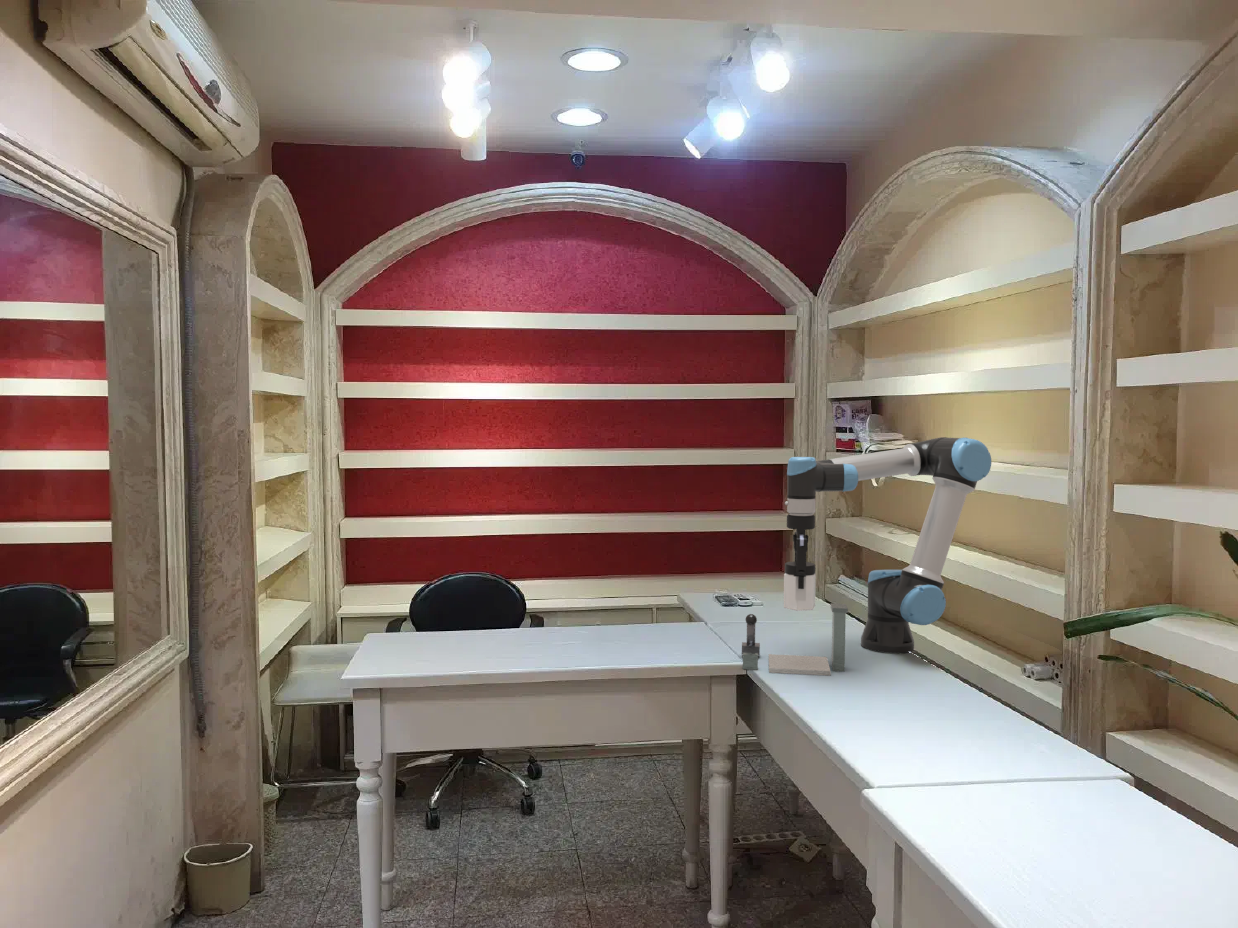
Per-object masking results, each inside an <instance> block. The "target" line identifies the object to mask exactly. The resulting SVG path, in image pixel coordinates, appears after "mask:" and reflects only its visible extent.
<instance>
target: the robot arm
mask: <svg viewBox="0 0 1238 928" xmlns="http://www.w3.org/2000/svg"><path fill="white" fill-rule="evenodd" d="M787 462H788V463H787V472H786V479H787V482H786V483H787V486H786V487H787V488H786V489H787V490H786V491H787V494H786V500H787V501H785V502H784V505H785V506H786V507H787V508H786V511H787V513H789V514H787V515H786V527H787V529H790V530H795V531H794V534H792V541H793V551H794V562H795V561H796V574H794V576H796V589H795V601H806V574H807V572H806V562H807V552H808V543H809V535H808V534H806V530H814V529H815V528H816V515H815V513H816V495H817V494H816V493H819V492H842V493H845V492H852V491H854V490H855V489H856V487H858V484H859V482H860V481H866V480H873V479H880V478H886V477H893V476H899V475H906V474H907V475H909V476H911V477H916V476H931V477H932V480H933V482H934V484H935V487H934V491H933V494H932V497H931V500H930V502H929V505H928V508H927V512H926V515H925V517H924V521H923V524H922V527H921V530H920V533H919V536H918V540H917V542H916V545H915V548H914V552H913V555H912V558H911V560H910V564H909V565H908V566H906V567H904V568H902V569H875V570H871V571H870V572H869V573H868V578H867V579H868V580H867V618H866V619H867V620H866V624H865V626H864V628H863V631H862V634H861V637H860V646H861V647H863V648H864V649H866V650H869V651H874V652H878V653H879V652H880V653H885V654H889V653H890V654H900V653H901V654H902V653H909V652H912V651H914V650H915V640H914V636H913V633H912V630H911V627H910V624H913V625H918V626H928V625H930V624H933V623H935V622H937V621H938V620H939V619H940V618H941V617H942V615H943V614H944V612H945V610H946V606H947V605H946V604H947V602H946V600H947V599H946V598H945V593H944V592H943V587H944V584H945V582H944V580H943V578H942V573H943V569H944V566H945V563H946V560H947V557H948V553H949V550H950V548H951V544H952V541H953V538H954V535H955V532H956V529H957V526H958V522H959V519H960V517H961V515H962V511H963V507H964V505H965V502H966V498H967V495H968V494H970V493H972V492H974V491H975V490H976V486H977V483H978V481H981V480H983V478H986V477H987V476H988V475H989V473H990V470H991V467H992V455H991V453H990V452H989V448H988V447H987V446H986V445H985V444H984V443H983V442H981V441H980V440H979V439H974V438H970V437H969V438H968V437H946V436H945V437H935V438H931V439H927V440H923V441H917V442H912V443H907V444H905V445H904V446H903V447H902V448H896V449H890V450H883V451H876V452H868V453H864V454H856V455H849V456H841V457H836V458H828V459H821V460H817V459H816V457H814V456H813V457H812V456H792V457H790V458H789V459H788V460H787ZM799 570H800V571H799ZM909 623H910V624H909Z"/></svg>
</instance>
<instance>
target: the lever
mask: <svg viewBox="0 0 1238 928" xmlns="http://www.w3.org/2000/svg"><path fill="white" fill-rule="evenodd" d="M757 622H758V619H757V616H756V615H755V614H752V613H749V614H747V616H745V623H746V642H744V641H742V642H741V655H743V653H758V656H760V654H761V653H760V651H761V647H760V646H761V644H760V642H756V623H757Z"/></svg>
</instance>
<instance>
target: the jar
mask: <svg viewBox="0 0 1238 928" xmlns="http://www.w3.org/2000/svg"><path fill="white" fill-rule="evenodd" d="M799 571H800V570H799ZM806 572H807V574H806V601H795V589H796V576H794V574H796V561H795V560H794V561H787V562H785V563H784V574H783V608H784V609H787V610H792V611H797V612H798V611H802V612H803V611H814V609H815V608H816V586H817V585H816V584H817V583H816V580H817V579H816V577H817V575H816V574H817V573H816V564H815V562H809V561H806Z"/></svg>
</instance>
